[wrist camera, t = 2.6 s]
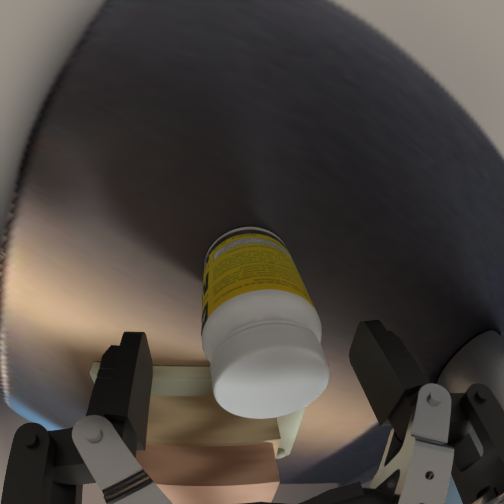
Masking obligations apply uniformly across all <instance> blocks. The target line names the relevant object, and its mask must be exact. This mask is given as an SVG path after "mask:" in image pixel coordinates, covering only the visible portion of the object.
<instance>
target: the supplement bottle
mask: <svg viewBox="0 0 504 504" xmlns="http://www.w3.org/2000/svg"><path fill="white" fill-rule="evenodd" d="M321 335H322V328H321V322H320V319H319V316H318V314H317V311H316V309H315V307H314V305H313V303H312V301H311V298H310V296H309V294H308V292H307V290H306V288H305V286H304V284H303V281H302V279H301V277H300V275H299V273H298V270H297V268H296V266H295V264H294V262H293V260H292V257H291V255H290V253H289V251H288V249H287V247H286V245H285V244H284V243H283V241H282V240H281V239H280V238H279V237H278V236H276V235H275V234H274V233H272V232H270V231H268V230H265V229H262V228H258V227H242V228H237V229H234V230H231V231H229V232H227V233H225V234H224V235H222V236H221V237H219V238H218V239H217V240H216V241H215V242H214V243H213V244H212V246H211V247H210V249H209V250H208V253H207V255H206V258H205V262H204V271H203V295H202V331H201V336H202V346H203V350H204V353H205V355H206V357H207V359H208V361H209V362H210V372H211V377H212V388H213V394H214V397H215V399H216V401H217V402H218V403H219V405H220V406H221V407H222V408H224V409H225V410H227V411H228V412H230V413H232V414H235V415H238V416H241V417H246V418H255V419H265V418H275V417H279V416H284V415H287V414H290V413H293V412H295V411H297V410H300V409H302V408H304V407H305V406H307V405H309V404H310V403H312V402H313V401H314V400H315V399H317V398H318V397H319V396H320V395H321V393H322V392H323V391H324V389H325V388H326V386H327V384H328V381H329V376H330V371H329V366H328V363H327V360H326V357H325V355H324V352H323V349H322V346H321V343H320V341H321Z"/></svg>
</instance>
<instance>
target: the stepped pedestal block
mask: <svg viewBox="0 0 504 504" xmlns="http://www.w3.org/2000/svg"><path fill="white" fill-rule="evenodd" d="M100 363H101V362H93V365H92V368H91V371H90V376H91V378H92V380H93V382H94V384H95V380H96V378H97V373H98V370H99V369H100V367H99V366H100ZM305 408H306V406H305V407H304V408H302V409H300V410H297V411H295V412H293V413H290V414H287V415H284V416H279V417H275V418H265V419H255V418H246V417H241V416H238V415H235V414H232V413H230V412H228V411H227V410H225V409H224V408H222V407H221V406H220V405H219V403H218V402H217V401H216V399H215V397H214V394H213V388H212V377H211V372H210V366H197V367H192V366H153V379H152V387H151V395H150V404H149V414H148V424H147V436H146V449H145V451H142V450H136V460H137V461H138V463H139V464H140V465H141V467H142V468H143V469H144V471H145V472H146V473H147V474H148V475H149V476H150V477H151V479H152V480H153V481H154V482H155V483H156V485H157V486H158V487H159V488H160V489H161V491H162V492H163V493H164V494H165V495H166V496H167V498H168V499H169V500H170V501H171V502H172V503H173V504H241V503H252V502H270V503H271V501H272V499H273V497H274V495H275V492H276V490H277V487H278V485H279V482H280V480H279V474H278V469H277V464H276V459H280V458H283V457H284V456H285V455H289V454H290V452H291V449H292V446H293V443H294V440H295V438H296V435H297V432H298V429H299V426H300V423H301V420H302V417H303V414H304V411H305Z"/></svg>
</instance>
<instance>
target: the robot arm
mask: <svg viewBox="0 0 504 504" xmlns="http://www.w3.org/2000/svg"><path fill="white" fill-rule="evenodd" d="M349 358H350V363H351V365H352V367H353V369H354V371H355V373H356V375H357V378H358V380H359V382H360V384H361V386H362V388H363V390H364V392H365V394H366V396H367V398H368V401H369V403H370V405H371V407H372V409H373V411H374V413H375V415H376V418H377V420H378V422H379V424H380V426H381V427H382V426H386V425H389V424H391V425H392V427H393V429H392V431H391V433H390V436H389V439H388V443H387V446H386V449H385V452H384V455H383V459H382V462H381V465H380V467H379V470H378V472H377V474H376V475H375V477H374V478H373V480H372V482H371V484H370V486H369V488H362V486H361V483H360V482H357V483H353V484H350V485H346V486H342V487H339V488H335V489H330V490H328V491H326V492H324V493H322V494H320V495H318V496H316V497H313V498H311V499H309V500H307V501H305V502H302V503H299V504H445V500H446V496H447V491H448V487H449V481H450V476H451V475H452V477H453V480H454V482H455V485H456V487H457V490H458V492H459V494H460V497H461V500H462V502H463V504H504V336H503V335H499V334H498V333H497V332H496V331H494V330H489V331H486V332H484V333H482V334H480V335H478V336H477V337H475V338H474V339H472V340H471V341H470V342H468V343H467V344H466V345H465V346H464V347H463V348H462V349H460V350H459V351H458V352H457V353H456V355H455V356H454V357H453V358H452V359H451V360H450V361H449V363H448V364H447V365H446V366H445V368H444V369H443V371H442V373H441V374H440V376H439V379H438V382H437V384H433V383H429V381H428V380H427V378H426V377H425V375H424V373H423V372H422V370H421V369H420V367H419V366H418V364H417V363H416V361H415V360H414V358H413V357H411V354H410V352H409V351H408V349H406V346H405V345H404V344H403V342H402V341H401V339H400V338H399V337H398V336H396V335H395V334H394V333H392V332H391V331H387V330H386V329H385V327H384V326H383V324H382V323H381V322H380V321H379V320H372V321H364V322H360V323H359V325H358V327H357V330H356V333H355V336H354V339H353V342H352V345H351V348H350V352H349ZM99 367H100V369H99V370H98V373H97V378H96V380H95V384H94V388H93V391H92V395H91V399H90V403H89V407H88V411H87V414H86V416H85V417H83V418H81V419H80V420H78V421H77V423H76V424H75V425H74V427H72V428H68V429H62V430H54V431H47V430H46V429H45V428H44V427H43V426H42V425H40V424H38V423H26V424H24V425H22V426H21V427H19V429H18V430H17V431H16V433H15V435H14V439H13V443H12V447H11V451H10V456H9V460H8V465H7V470H6V475H5V480H4V486H3V493H2V500H1V504H82V487H83V484H89V483H96V482H97V484H98V486H99V487H100V489H101V490H102V492H103V494H104V499H105V501H106V503H107V504H173V503H172V502H171V501H170V500H169V499H168V498H167V496H166V495H165V494H164V493H163V492H162V491H161V489H160V488H159V487H158V486H157V485H156V483H155V482H154V481H153V480H152V479H151V477H150V476H149V475H148V474H147V473H146V472H145V471H144V469H143V468H142V467H141V465H140V464H139V463H138V461H137V460H136V450H142V451H145V449H146V436H147V424H148V414H149V404H150V395H151V387H152V379H153V364H152V359H151V355H150V351H149V346H148V342H147V338H146V334H145V332H124V333H123V336H122V340H121V343H120V346H116V345H111V346H110V347H109V349H108V350H107V351H106V352H105V353H104V354H103V356H102V360H101V363H100V366H99ZM241 504H283V503H270V502H252V503H241Z"/></svg>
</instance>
